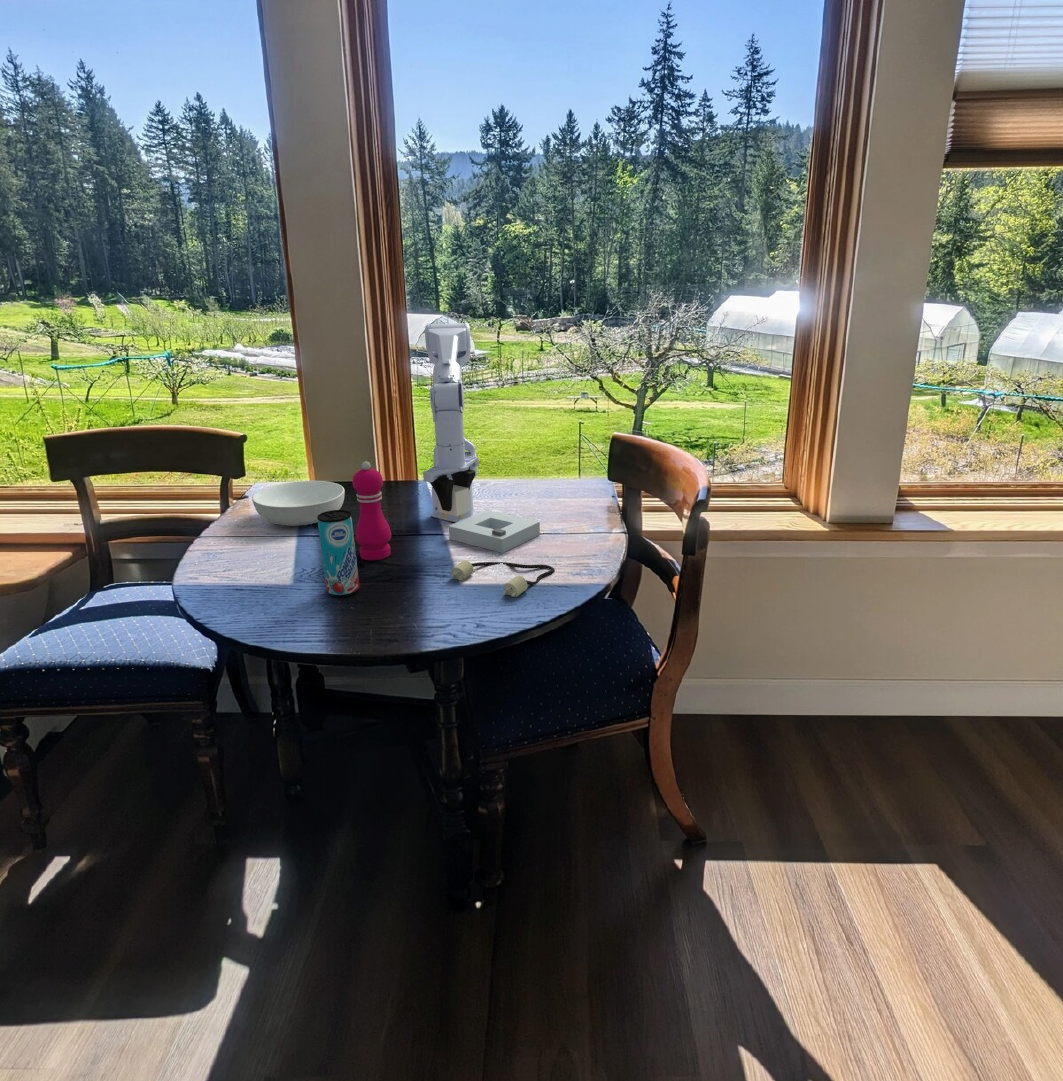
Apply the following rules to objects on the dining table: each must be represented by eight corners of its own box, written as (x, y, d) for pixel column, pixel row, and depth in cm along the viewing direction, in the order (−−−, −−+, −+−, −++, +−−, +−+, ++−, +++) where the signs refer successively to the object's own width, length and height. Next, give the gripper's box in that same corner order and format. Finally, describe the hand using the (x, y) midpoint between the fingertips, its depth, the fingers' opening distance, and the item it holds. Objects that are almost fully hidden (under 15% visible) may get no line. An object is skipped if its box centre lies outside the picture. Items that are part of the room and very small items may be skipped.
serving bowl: (279, 542, 165) (274, 512, 163) (242, 520, 180) (237, 492, 178) (363, 520, 178) (360, 492, 175) (322, 501, 193) (319, 475, 190)
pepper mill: (399, 550, 158) (390, 458, 151) (382, 563, 152) (372, 467, 145) (369, 547, 161) (359, 456, 154) (351, 559, 154) (339, 464, 147)
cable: (497, 556, 155) (496, 541, 154) (563, 573, 146) (562, 557, 145) (446, 582, 144) (445, 565, 142) (514, 602, 134) (513, 584, 133)
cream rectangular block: (439, 516, 157) (437, 488, 155) (452, 511, 160) (450, 484, 158) (457, 520, 154) (455, 492, 152) (470, 515, 157) (468, 488, 155)
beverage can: (330, 600, 136) (319, 522, 130) (324, 588, 141) (314, 512, 135) (362, 594, 138) (354, 517, 133) (356, 583, 143) (347, 508, 138)
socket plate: (449, 538, 164) (448, 522, 163) (487, 522, 174) (486, 506, 173) (502, 552, 156) (502, 535, 154) (539, 534, 165) (539, 518, 164)
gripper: (439, 453, 144) (444, 520, 149) (488, 438, 155) (491, 501, 160) (413, 448, 148) (418, 514, 153) (463, 434, 159) (466, 495, 164)
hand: (454, 507), depth 156 cm, fingers closed on cream rectangular block, 4 cm apart
